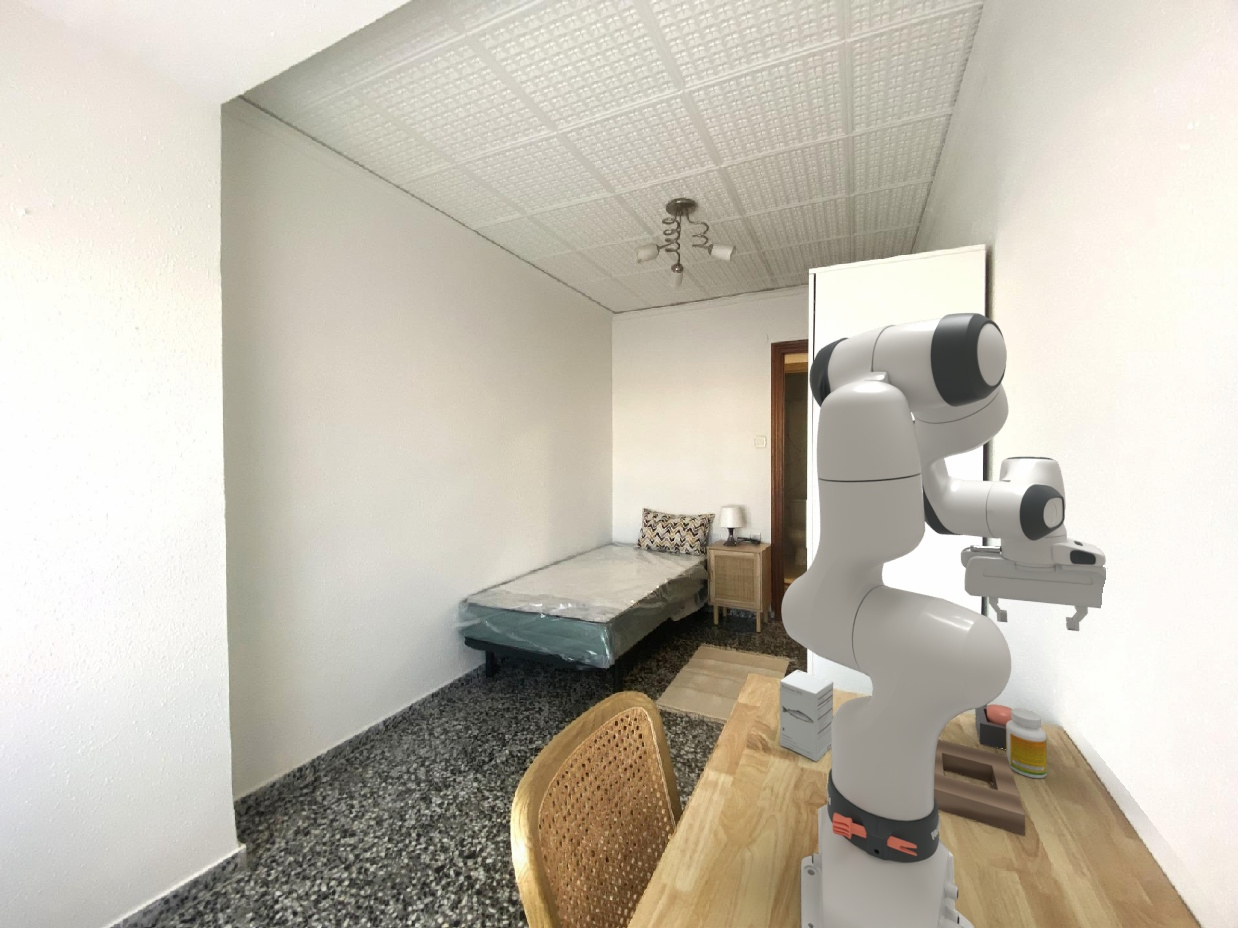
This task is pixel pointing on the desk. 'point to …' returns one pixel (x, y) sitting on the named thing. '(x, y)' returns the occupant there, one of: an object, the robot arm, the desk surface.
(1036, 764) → the supplement bottle
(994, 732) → the button box
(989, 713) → the button
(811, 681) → the supplement box
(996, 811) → the brown bottle holder
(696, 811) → the desk surface
